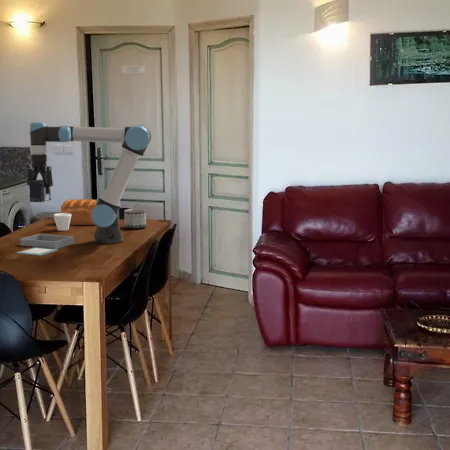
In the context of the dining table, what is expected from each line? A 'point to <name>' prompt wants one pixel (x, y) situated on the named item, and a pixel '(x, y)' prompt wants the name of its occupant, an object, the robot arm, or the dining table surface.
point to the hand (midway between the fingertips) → (40, 199)
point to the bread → (79, 211)
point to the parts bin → (47, 241)
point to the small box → (37, 191)
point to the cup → (62, 221)
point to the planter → (135, 218)
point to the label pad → (37, 251)
